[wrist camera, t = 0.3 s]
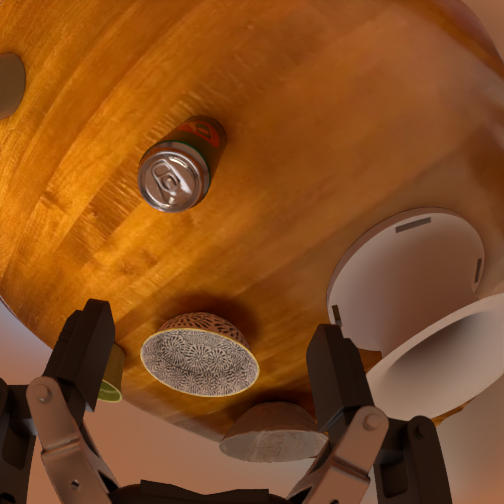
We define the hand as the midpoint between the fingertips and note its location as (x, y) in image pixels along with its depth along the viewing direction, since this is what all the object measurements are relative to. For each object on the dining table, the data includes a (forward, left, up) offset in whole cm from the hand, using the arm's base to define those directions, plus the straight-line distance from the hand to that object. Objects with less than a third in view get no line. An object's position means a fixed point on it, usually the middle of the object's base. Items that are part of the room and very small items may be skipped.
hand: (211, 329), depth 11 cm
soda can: (-1, -4, -22) cm, 22 cm away
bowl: (+25, +3, -22) cm, 34 cm away
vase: (+8, +28, -22) cm, 36 cm away
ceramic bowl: (+47, +23, -22) cm, 57 cm away
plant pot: (+39, -12, -22) cm, 47 cm away
